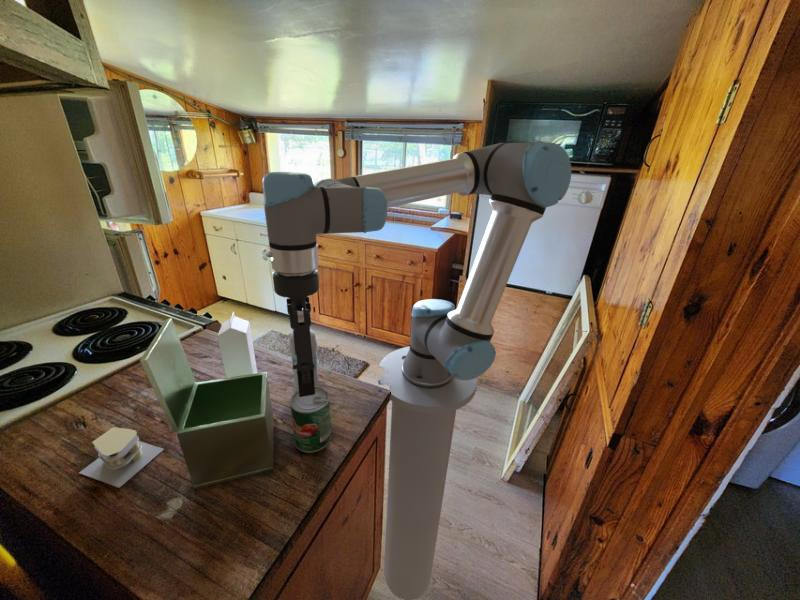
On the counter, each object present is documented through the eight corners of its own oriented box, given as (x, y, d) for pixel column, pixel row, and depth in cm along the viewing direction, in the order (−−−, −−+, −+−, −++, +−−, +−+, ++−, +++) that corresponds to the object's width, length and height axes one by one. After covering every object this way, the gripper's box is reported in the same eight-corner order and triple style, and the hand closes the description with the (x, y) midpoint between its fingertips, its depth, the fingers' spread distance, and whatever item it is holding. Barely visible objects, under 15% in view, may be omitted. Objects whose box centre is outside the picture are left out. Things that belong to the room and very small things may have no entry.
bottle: (306, 377, 90) (301, 313, 82) (325, 386, 87) (321, 320, 79) (287, 391, 84) (280, 323, 76) (306, 401, 81) (300, 331, 73)
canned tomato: (289, 452, 67) (284, 411, 63) (300, 423, 75) (296, 385, 70) (327, 453, 68) (325, 413, 63) (334, 424, 75) (332, 386, 70)
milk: (231, 402, 80) (213, 323, 71) (235, 386, 85) (219, 311, 76) (257, 398, 82) (243, 321, 73) (259, 382, 87) (247, 309, 78)
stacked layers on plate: (78, 473, 61) (67, 452, 59) (126, 437, 69) (118, 417, 67) (119, 488, 59) (109, 466, 57) (164, 449, 67) (157, 429, 64)
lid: (171, 317, 59) (166, 318, 59) (145, 359, 47) (139, 360, 47) (195, 380, 65) (191, 381, 65) (178, 430, 53) (173, 432, 53)
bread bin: (273, 420, 75) (266, 371, 70) (273, 470, 64) (264, 416, 58) (207, 433, 71) (194, 382, 65) (194, 489, 59) (176, 433, 54)
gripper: (272, 250, 65) (282, 342, 73) (271, 300, 43) (285, 421, 52) (311, 249, 67) (316, 338, 76) (328, 296, 46) (333, 412, 54)
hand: (304, 372), depth 64 cm, fingers open, 13 cm apart
